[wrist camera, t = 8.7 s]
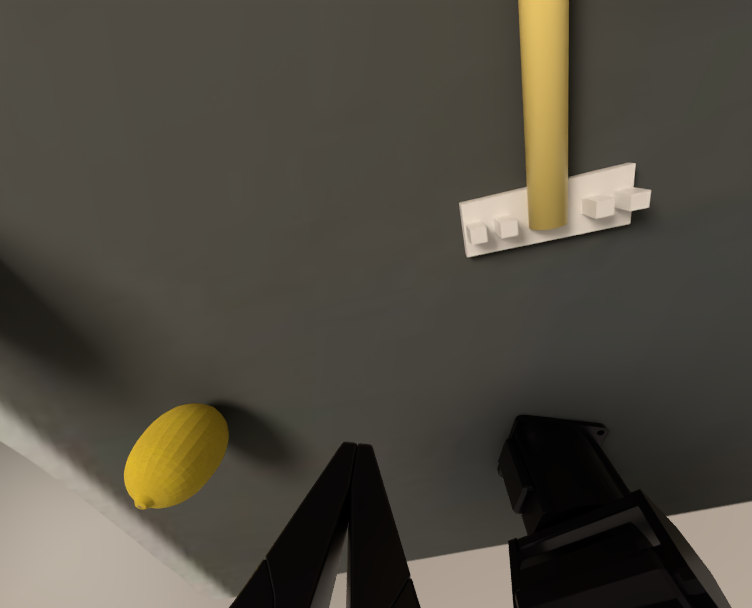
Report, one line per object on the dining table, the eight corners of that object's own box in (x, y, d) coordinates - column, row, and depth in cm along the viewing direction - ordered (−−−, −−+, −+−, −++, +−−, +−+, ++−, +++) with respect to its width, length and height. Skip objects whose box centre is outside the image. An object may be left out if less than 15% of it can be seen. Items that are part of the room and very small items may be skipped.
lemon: (176, 375, 25) (83, 468, 17) (246, 389, 25) (181, 487, 18) (183, 425, 27) (103, 524, 20) (246, 438, 27) (189, 541, 20)
